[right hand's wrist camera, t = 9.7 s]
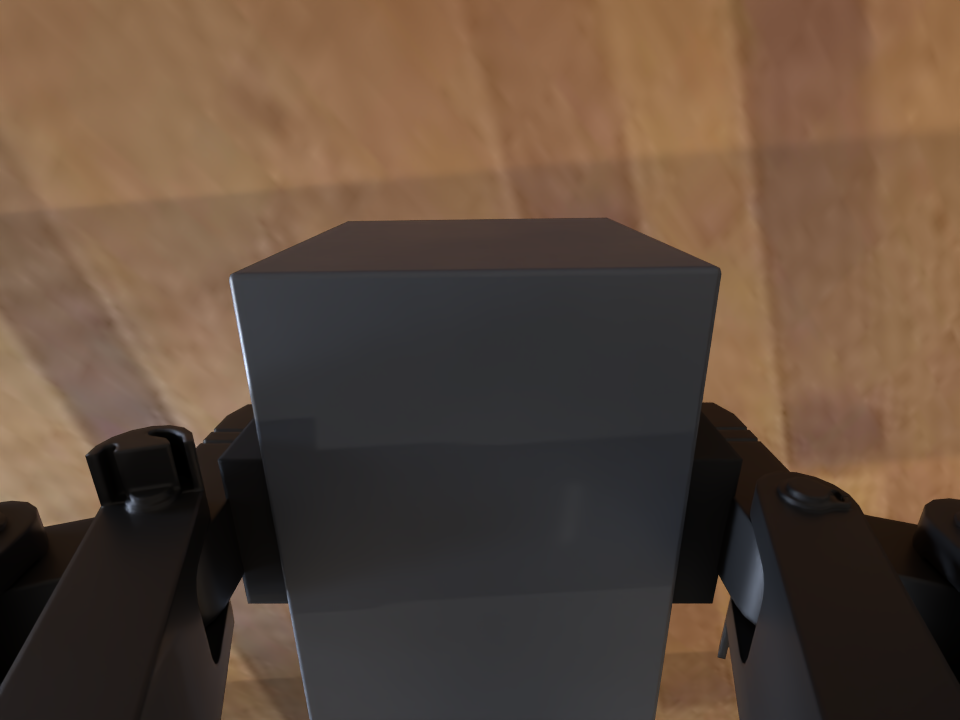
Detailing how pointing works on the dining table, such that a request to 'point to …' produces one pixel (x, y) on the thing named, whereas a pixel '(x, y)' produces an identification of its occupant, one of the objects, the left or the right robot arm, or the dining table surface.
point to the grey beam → (478, 460)
